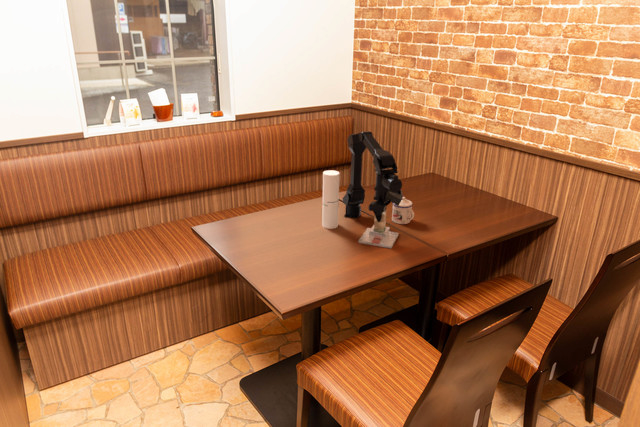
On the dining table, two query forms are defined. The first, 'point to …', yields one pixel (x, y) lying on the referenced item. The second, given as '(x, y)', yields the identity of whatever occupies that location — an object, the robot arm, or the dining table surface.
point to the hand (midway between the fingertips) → (380, 219)
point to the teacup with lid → (402, 212)
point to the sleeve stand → (379, 237)
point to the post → (380, 223)
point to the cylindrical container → (330, 199)
